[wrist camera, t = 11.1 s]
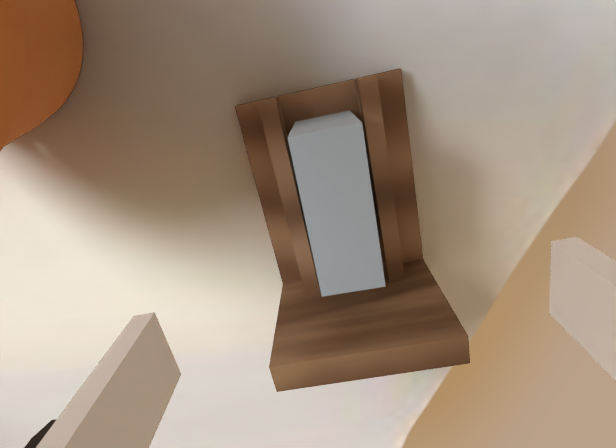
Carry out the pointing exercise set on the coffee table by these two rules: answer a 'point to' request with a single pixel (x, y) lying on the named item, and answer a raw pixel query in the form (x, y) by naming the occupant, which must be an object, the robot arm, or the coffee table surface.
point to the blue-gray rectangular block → (337, 202)
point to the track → (392, 238)
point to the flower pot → (36, 62)
